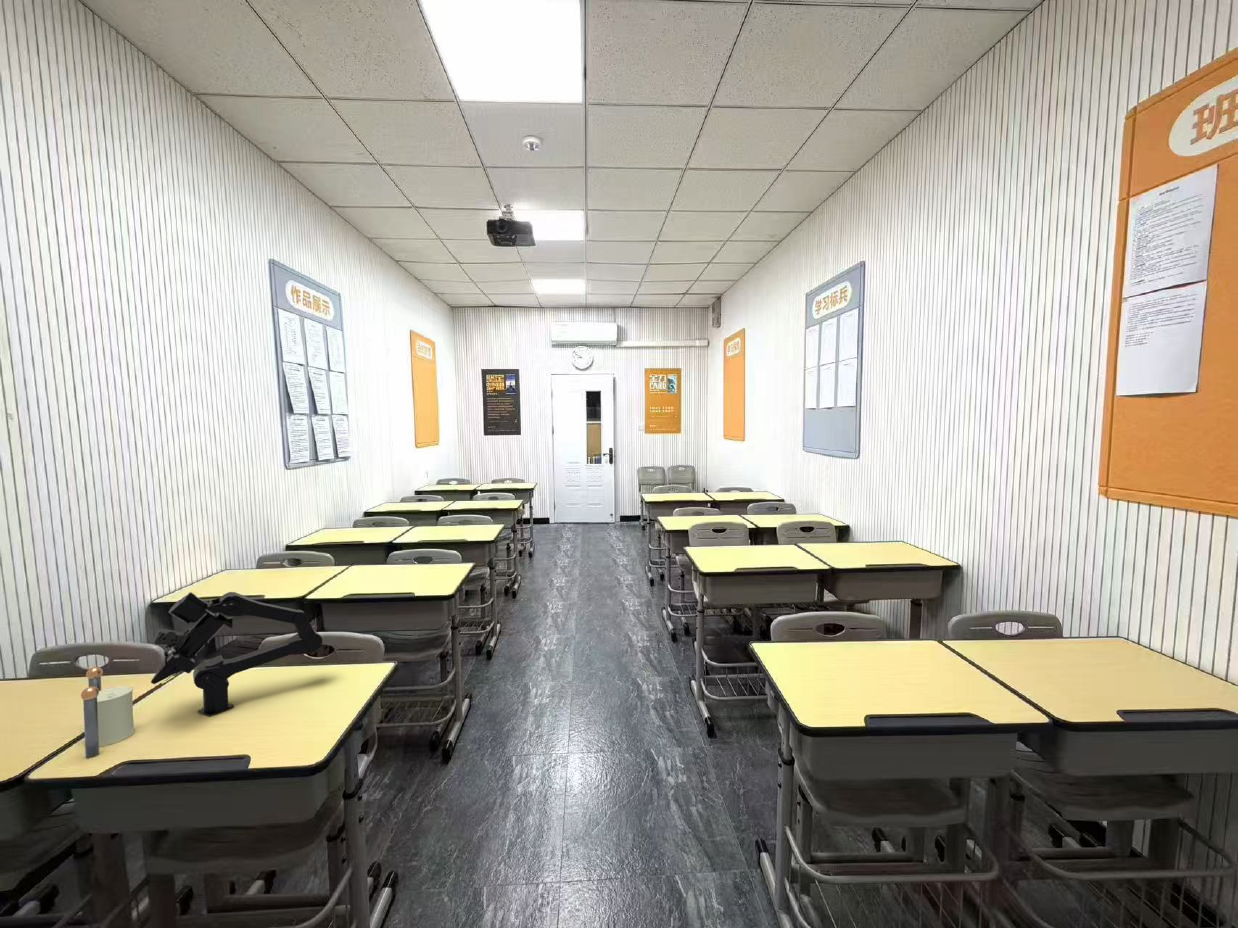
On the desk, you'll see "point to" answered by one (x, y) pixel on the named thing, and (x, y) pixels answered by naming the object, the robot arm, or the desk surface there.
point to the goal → (91, 711)
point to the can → (115, 715)
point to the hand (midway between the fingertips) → (152, 682)
